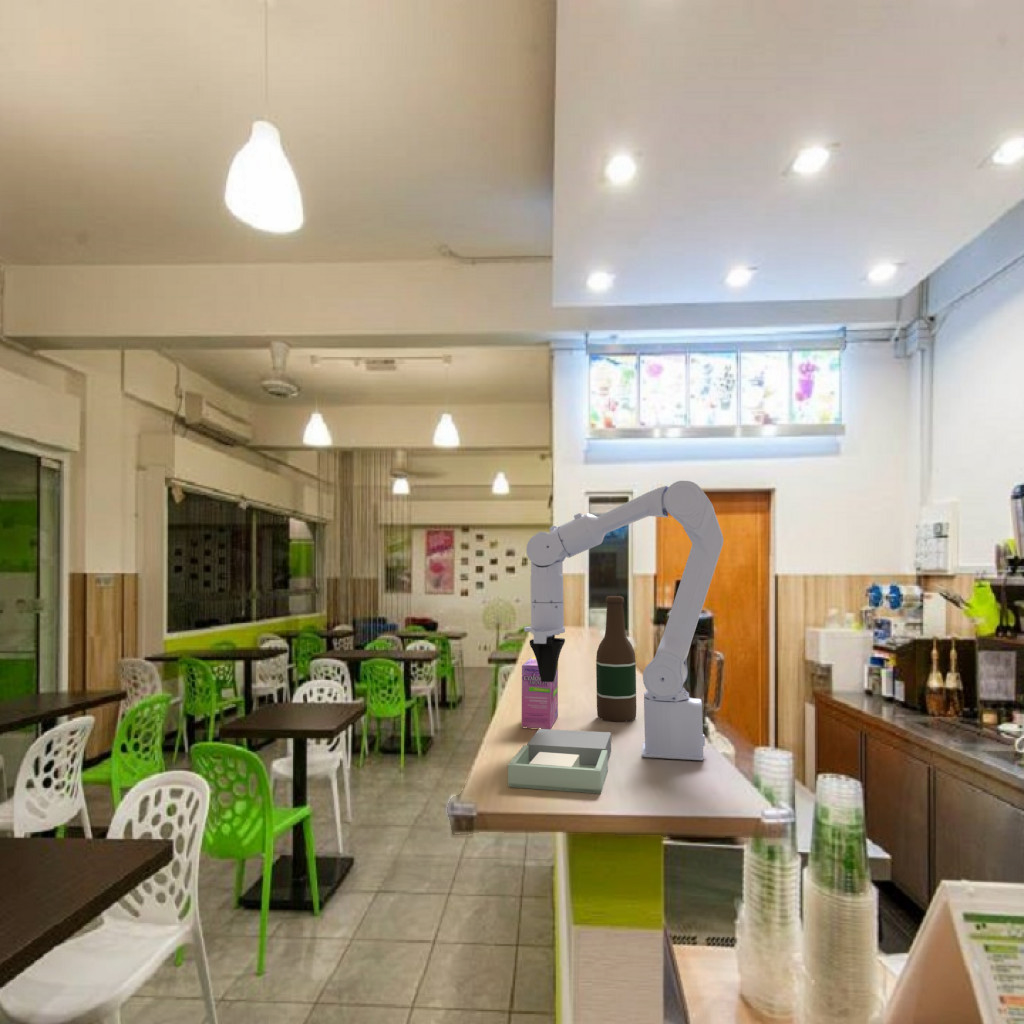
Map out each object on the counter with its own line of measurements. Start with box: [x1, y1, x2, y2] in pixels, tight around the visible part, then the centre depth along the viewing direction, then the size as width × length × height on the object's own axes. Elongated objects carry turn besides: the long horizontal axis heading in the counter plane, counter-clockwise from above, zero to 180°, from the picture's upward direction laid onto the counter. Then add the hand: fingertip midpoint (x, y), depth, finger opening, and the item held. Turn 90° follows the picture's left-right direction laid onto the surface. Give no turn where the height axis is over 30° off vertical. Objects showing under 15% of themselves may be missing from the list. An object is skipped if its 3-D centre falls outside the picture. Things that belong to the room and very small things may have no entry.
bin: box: [507, 744, 609, 795], centre depth 98 cm, size 13×11×3 cm
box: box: [520, 656, 559, 729], centre depth 132 cm, size 10×6×12 cm, turn 168°
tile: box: [529, 752, 580, 768], centre depth 97 cm, size 6×6×2 cm
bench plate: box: [526, 728, 612, 766], centre depth 109 cm, size 12×10×3 cm
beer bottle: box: [595, 595, 637, 723], centre depth 136 cm, size 8×8×24 cm
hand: (547, 681), depth 118 cm, fingers closed
